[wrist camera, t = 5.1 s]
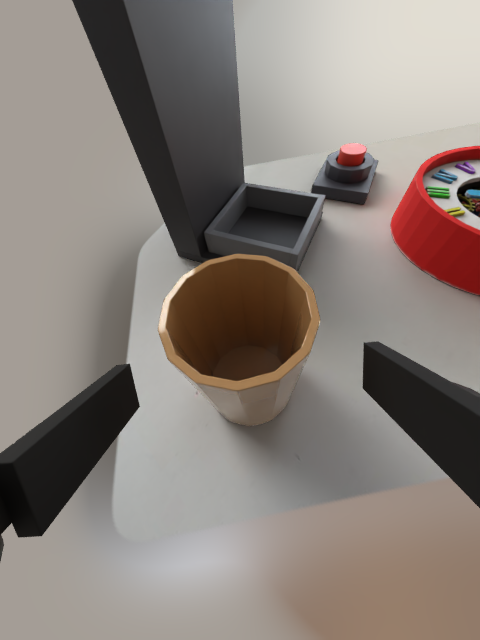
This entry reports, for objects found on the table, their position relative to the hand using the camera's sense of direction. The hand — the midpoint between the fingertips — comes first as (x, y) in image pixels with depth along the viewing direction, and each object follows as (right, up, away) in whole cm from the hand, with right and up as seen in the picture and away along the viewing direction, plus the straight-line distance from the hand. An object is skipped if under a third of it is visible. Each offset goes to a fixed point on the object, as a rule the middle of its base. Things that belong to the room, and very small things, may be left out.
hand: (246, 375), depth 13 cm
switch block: (+17, +26, +24) cm, 39 cm away
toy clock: (+29, +13, +15) cm, 36 cm away
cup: (+1, -3, +8) cm, 9 cm away
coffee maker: (+1, +15, +19) cm, 24 cm away
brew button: (+16, +27, +21) cm, 38 cm away
